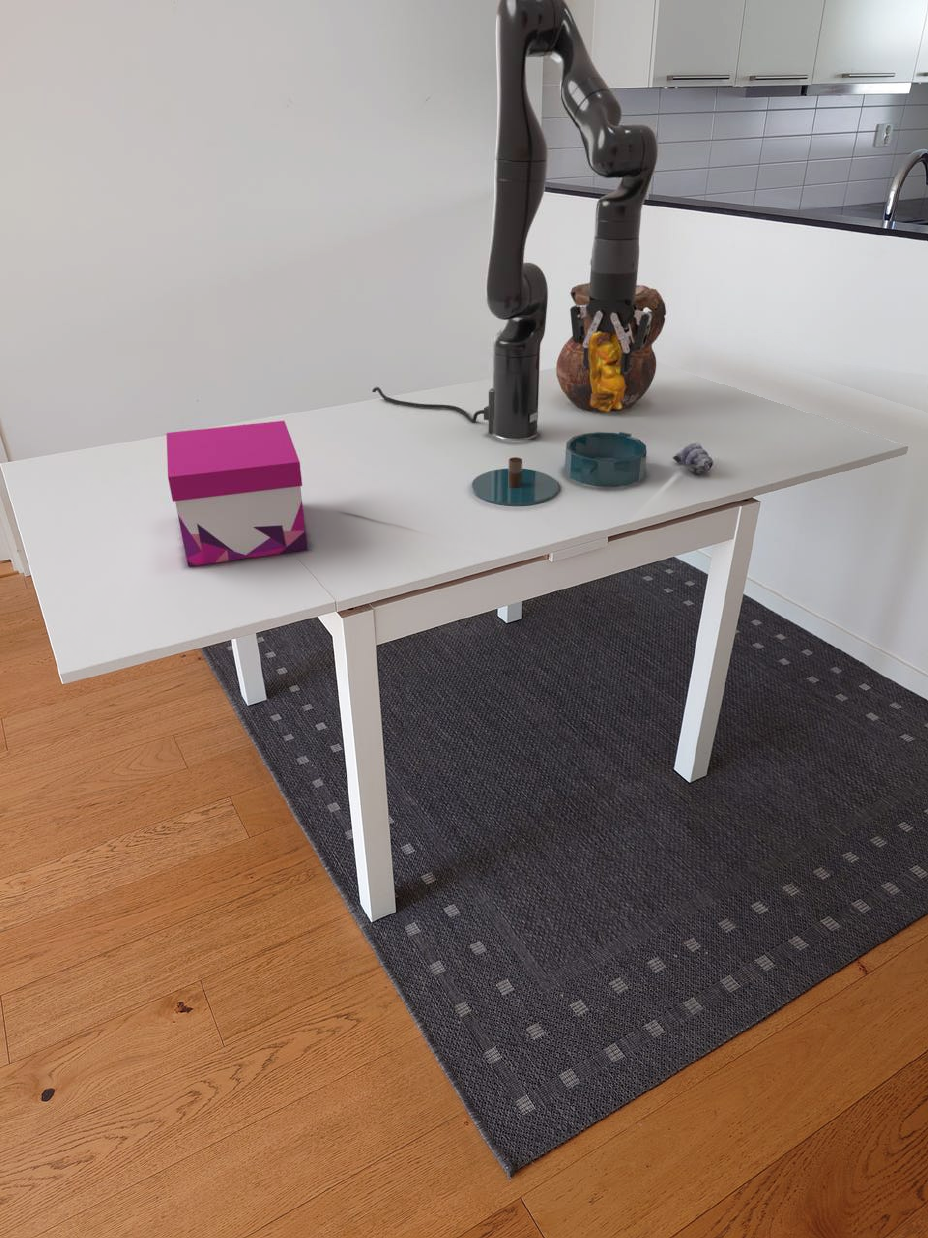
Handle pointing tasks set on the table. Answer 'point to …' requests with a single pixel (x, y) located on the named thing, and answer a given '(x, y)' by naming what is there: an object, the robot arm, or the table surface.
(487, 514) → the table surface
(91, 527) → the table surface
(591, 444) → the pot
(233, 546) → the decorative box
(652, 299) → the jug
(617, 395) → the figurine
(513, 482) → the lid
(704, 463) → the seashell
